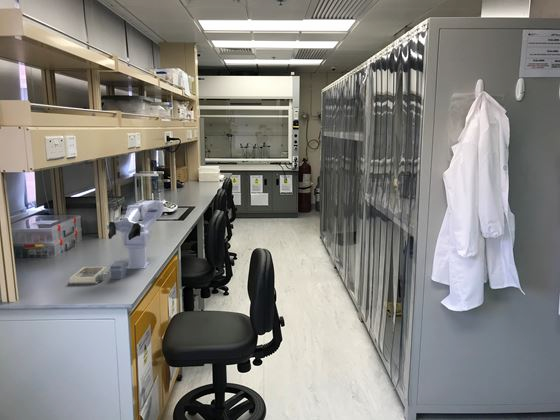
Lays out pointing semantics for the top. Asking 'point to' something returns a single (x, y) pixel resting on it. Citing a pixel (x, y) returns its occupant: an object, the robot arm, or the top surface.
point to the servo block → (118, 269)
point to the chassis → (88, 275)
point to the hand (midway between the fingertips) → (119, 237)
